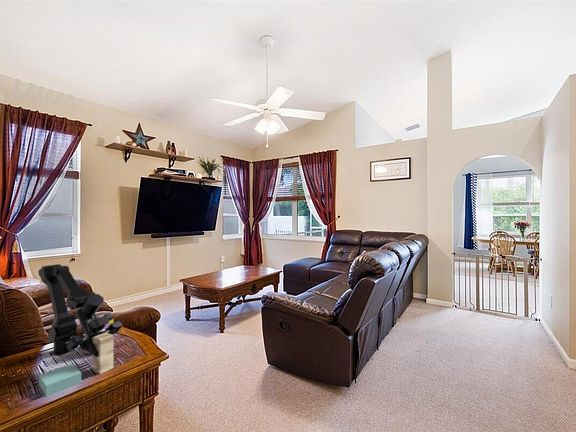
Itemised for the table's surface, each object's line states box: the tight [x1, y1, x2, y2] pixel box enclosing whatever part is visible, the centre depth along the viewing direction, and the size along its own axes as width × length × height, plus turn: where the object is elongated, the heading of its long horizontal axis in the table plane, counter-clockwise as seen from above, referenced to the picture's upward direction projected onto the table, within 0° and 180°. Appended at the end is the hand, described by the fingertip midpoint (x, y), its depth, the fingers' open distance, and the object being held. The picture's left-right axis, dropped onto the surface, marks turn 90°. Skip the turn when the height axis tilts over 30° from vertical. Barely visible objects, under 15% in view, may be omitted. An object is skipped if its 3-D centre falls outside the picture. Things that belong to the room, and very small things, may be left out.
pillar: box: [92, 333, 115, 375], centre depth 114 cm, size 5×5×13 cm
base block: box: [38, 363, 82, 397], centre depth 105 cm, size 10×10×4 cm
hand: (105, 353), depth 114 cm, fingers closed on pillar, 5 cm apart
